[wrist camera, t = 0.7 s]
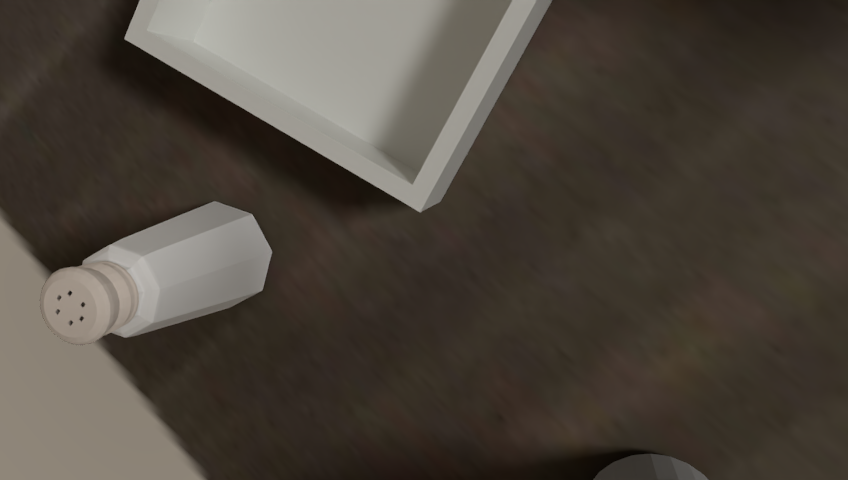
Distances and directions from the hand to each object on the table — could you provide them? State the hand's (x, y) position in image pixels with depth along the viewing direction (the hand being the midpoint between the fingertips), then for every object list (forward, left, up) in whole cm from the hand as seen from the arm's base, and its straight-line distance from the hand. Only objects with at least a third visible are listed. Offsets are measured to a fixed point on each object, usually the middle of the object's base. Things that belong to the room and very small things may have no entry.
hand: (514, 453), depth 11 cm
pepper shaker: (+9, -14, -21) cm, 27 cm away
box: (-6, -13, -21) cm, 25 cm away
